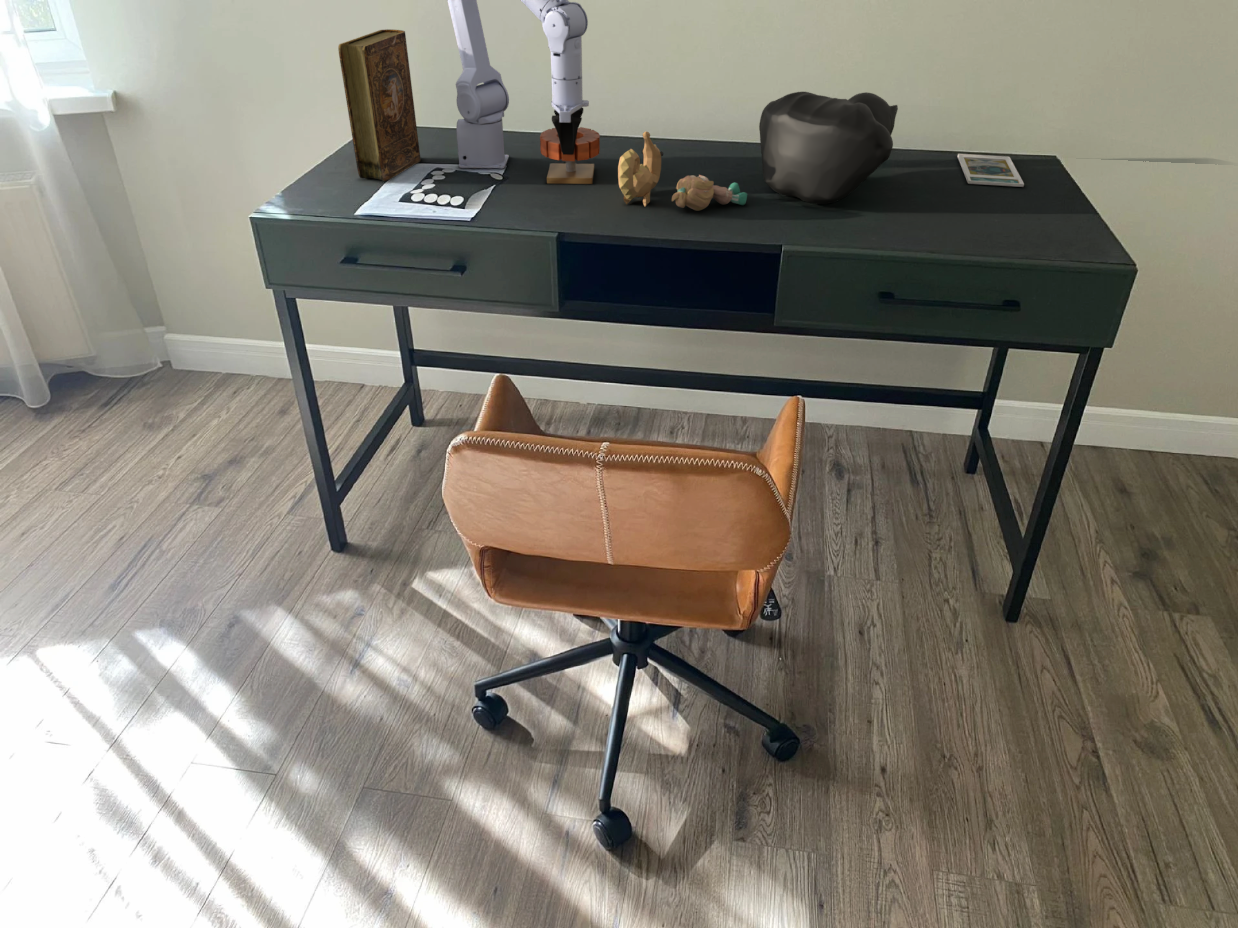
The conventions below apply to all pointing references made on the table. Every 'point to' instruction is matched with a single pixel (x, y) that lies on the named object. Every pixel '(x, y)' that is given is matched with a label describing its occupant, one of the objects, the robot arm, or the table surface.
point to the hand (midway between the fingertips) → (568, 151)
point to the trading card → (990, 170)
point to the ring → (584, 145)
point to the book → (380, 103)
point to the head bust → (824, 143)
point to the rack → (570, 173)
